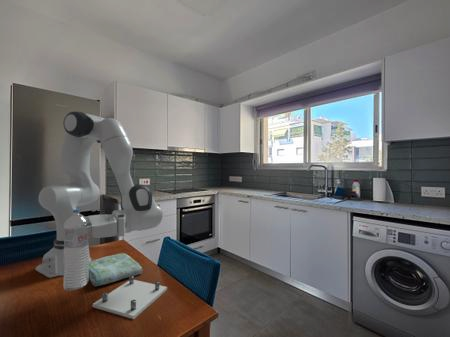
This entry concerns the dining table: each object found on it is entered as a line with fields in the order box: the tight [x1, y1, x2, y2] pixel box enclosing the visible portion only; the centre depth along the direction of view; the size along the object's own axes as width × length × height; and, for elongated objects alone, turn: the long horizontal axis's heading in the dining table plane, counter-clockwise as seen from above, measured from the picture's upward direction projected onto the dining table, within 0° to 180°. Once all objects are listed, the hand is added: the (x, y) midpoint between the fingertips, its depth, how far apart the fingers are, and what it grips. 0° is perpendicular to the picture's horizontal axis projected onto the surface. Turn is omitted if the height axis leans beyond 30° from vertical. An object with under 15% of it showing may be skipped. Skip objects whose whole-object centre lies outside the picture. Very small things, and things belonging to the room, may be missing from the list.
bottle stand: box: [92, 276, 168, 320], centre depth 75 cm, size 17×17×4 cm
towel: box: [88, 252, 143, 287], centre depth 94 cm, size 18×21×5 cm
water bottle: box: [63, 208, 90, 291], centre depth 71 cm, size 7×7×25 cm
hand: (73, 228), depth 71 cm, fingers closed on water bottle, 6 cm apart
